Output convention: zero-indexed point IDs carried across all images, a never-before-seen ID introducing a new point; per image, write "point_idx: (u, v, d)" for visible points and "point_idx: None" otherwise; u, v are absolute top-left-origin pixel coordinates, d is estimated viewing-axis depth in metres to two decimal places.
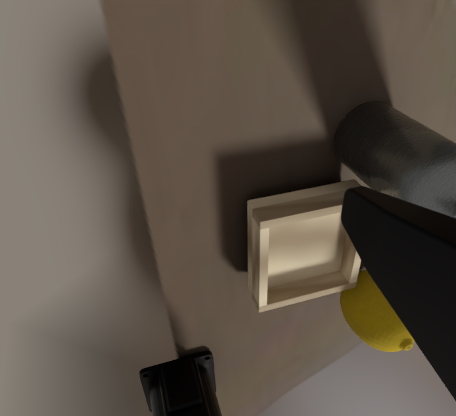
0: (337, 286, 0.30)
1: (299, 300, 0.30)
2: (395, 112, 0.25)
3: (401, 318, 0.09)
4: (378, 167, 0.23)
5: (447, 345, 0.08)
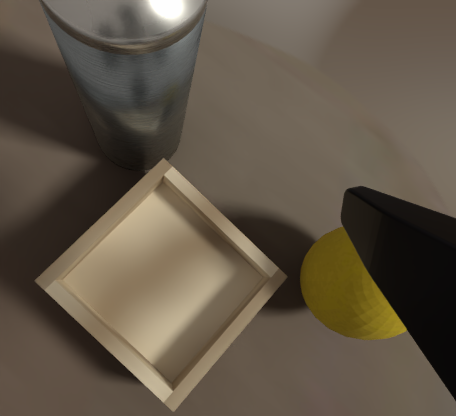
0: (258, 293, 0.19)
1: (219, 351, 0.18)
2: None
3: (401, 318, 0.09)
4: (89, 117, 0.18)
5: (447, 345, 0.08)
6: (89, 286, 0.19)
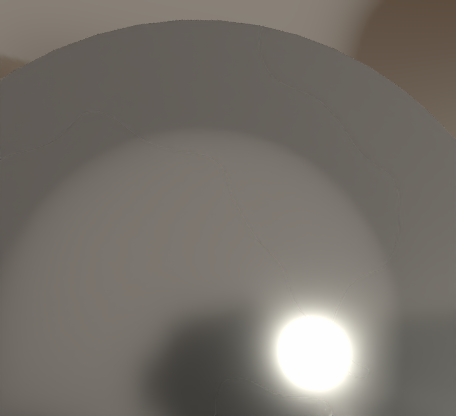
0: None
1: None
2: None
3: None
4: None
5: None
6: None
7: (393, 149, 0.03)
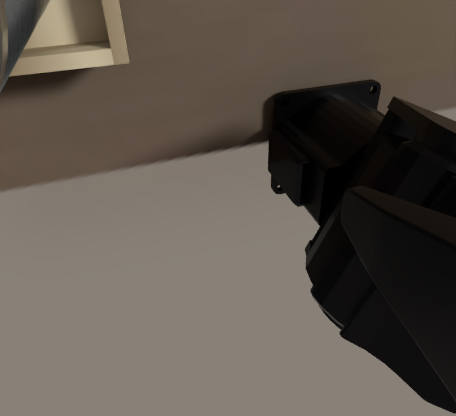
0: None
1: None
2: None
3: (401, 318, 0.09)
4: None
5: (447, 345, 0.08)
6: None
7: None
